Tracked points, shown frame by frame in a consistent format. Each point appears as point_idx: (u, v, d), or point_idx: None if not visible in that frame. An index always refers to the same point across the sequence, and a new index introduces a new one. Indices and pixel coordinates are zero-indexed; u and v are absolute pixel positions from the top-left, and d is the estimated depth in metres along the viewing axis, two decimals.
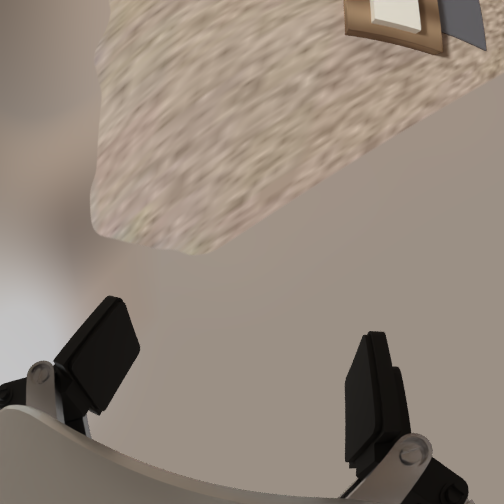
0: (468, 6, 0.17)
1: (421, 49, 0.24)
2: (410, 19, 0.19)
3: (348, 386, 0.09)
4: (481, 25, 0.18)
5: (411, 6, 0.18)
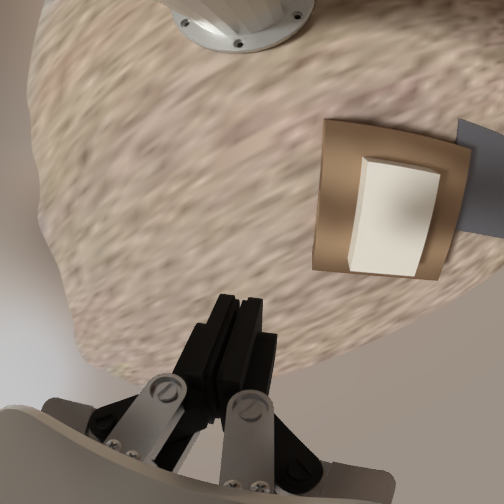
0: None
1: None
2: (404, 263, 0.21)
3: None
4: None
5: (414, 240, 0.20)
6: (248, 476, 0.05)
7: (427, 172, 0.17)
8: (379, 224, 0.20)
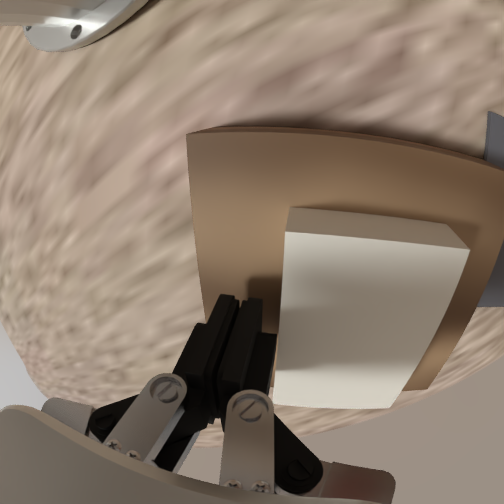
0: None
1: None
2: (372, 396, 0.11)
3: None
4: None
5: (394, 368, 0.10)
6: (248, 475, 0.05)
7: (441, 247, 0.07)
8: (321, 351, 0.10)
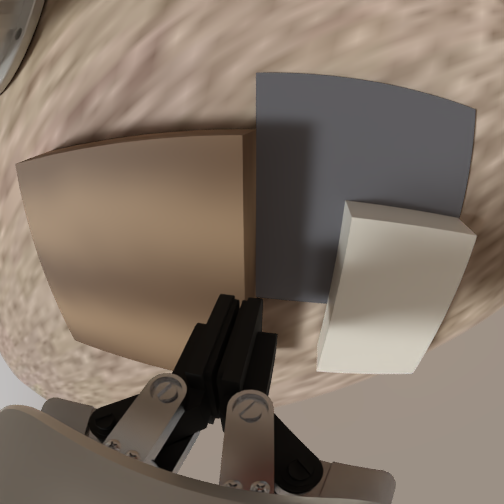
0: (425, 168, 0.10)
1: None
2: None
3: None
4: None
5: None
6: (249, 476, 0.05)
7: (370, 205, 0.11)
8: None
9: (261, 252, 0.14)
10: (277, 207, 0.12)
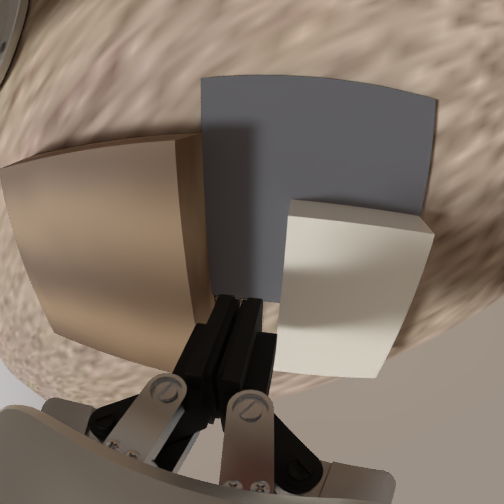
0: (377, 164, 0.11)
1: None
2: None
3: None
4: None
5: None
6: (248, 476, 0.05)
7: (317, 203, 0.12)
8: None
9: (213, 250, 0.14)
10: (224, 207, 0.13)
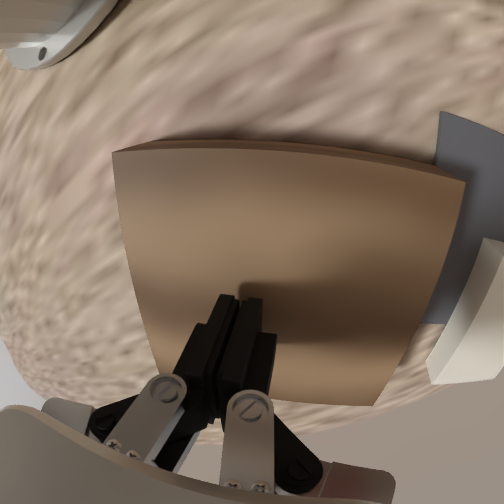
0: None
1: None
2: None
3: None
4: None
5: None
6: (248, 476, 0.05)
7: (497, 242, 0.10)
8: None
9: None
10: None
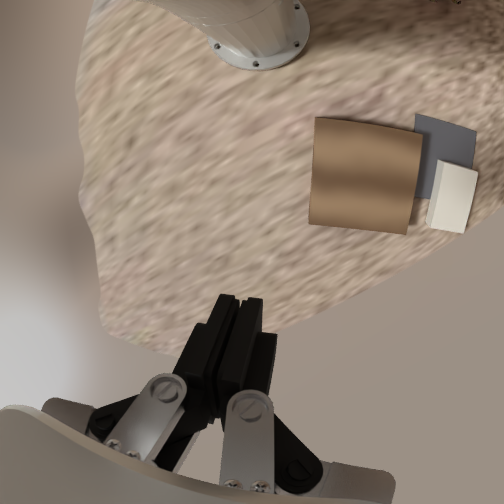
0: (460, 151, 0.28)
1: None
2: None
3: None
4: None
5: None
6: (248, 476, 0.05)
7: (444, 161, 0.29)
8: None
9: None
10: None
